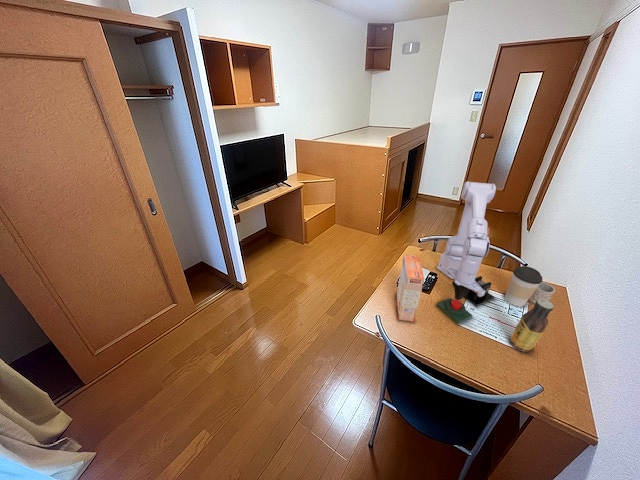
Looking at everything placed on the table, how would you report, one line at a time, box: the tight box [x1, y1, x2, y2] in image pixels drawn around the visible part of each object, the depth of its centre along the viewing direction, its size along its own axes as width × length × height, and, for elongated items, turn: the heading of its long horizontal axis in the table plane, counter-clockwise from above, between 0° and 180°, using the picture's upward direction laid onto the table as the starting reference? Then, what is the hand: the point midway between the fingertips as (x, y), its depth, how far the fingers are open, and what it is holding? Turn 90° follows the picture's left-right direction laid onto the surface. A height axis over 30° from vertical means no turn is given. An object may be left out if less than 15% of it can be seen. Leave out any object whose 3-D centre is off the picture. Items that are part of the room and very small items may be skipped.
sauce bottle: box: [509, 299, 555, 353], centre depth 81 cm, size 6×6×20 cm
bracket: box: [462, 275, 495, 308], centre depth 104 cm, size 10×8×8 cm
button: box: [450, 299, 463, 310], centre depth 97 cm, size 4×4×2 cm
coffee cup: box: [504, 265, 543, 307], centre depth 100 cm, size 9×9×15 cm
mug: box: [528, 281, 556, 304], centre depth 103 cm, size 10×7×7 cm
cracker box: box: [396, 253, 425, 323], centre depth 97 cm, size 14×6×21 cm, turn 168°
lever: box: [477, 279, 487, 287], centre depth 101 cm, size 12×3×3 cm, turn 115°
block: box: [436, 297, 473, 325], centre depth 98 cm, size 10×7×4 cm
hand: (458, 298), depth 95 cm, fingers closed
